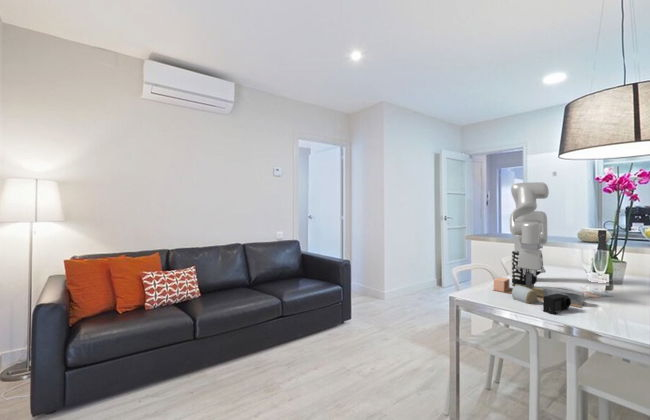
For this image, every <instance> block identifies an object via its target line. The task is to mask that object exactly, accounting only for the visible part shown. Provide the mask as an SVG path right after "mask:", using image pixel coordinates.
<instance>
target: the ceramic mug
mask: <svg viewBox="0 0 650 420" xmlns="http://www.w3.org/2000/svg"><path fill="white" fill-rule="evenodd" d="M512 289H513V290H512V294H511V297H512V299H513V300H515V301H518V302H521V303H525V304H535V303H536V302H537V303H538V302H539V300H538V299H537V293H536V292H535V291H533V290H531V289H528V288H526V287H523V286H520V285H517V286H515V287H514V286H513V288H512Z"/></svg>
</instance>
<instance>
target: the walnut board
mask: <svg viewBox="0 0 650 420" xmlns="http://www.w3.org/2000/svg"><path fill="white" fill-rule="evenodd" d="M512 290H513V288H511V287H509V289H508V290H506V291H504V292H503V291H498V290H494V289H492V290H491V291H493V292H497V293H498V292H499V293H503V294H507V295H512ZM537 299H538V301H543V296H540V295H537ZM586 304H587V301H584V304H583V306H578V305H573V304H571V305H570V307H573V308H578V309H582V308H584V306H585V305H586Z"/></svg>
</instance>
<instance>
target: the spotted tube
mask: <svg viewBox="0 0 650 420" xmlns="http://www.w3.org/2000/svg"><path fill="white" fill-rule="evenodd" d="M518 257H519V251H515V250H513V251H512V252H511V286H512V287H513V288H514V287H515V285H516V284H520V285H526V283H525V281H524V275H523V273H522V272H521V271H520V270H518V269H516V266H517V264H518ZM522 269H523V268H522ZM528 272H530V269H527V273H528Z"/></svg>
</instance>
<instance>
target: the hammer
mask: <svg viewBox="0 0 650 420" xmlns="http://www.w3.org/2000/svg"><path fill="white" fill-rule="evenodd" d="M532 276H533V273H530V272H528V273H526V285H520V284H516V285H515V286H517V285H520V286H523V287H526V288H528V289H531V290H533V291H535V292H536V293H537V295H540V296H543V288H541V287H536V286H535V284H532Z"/></svg>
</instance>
